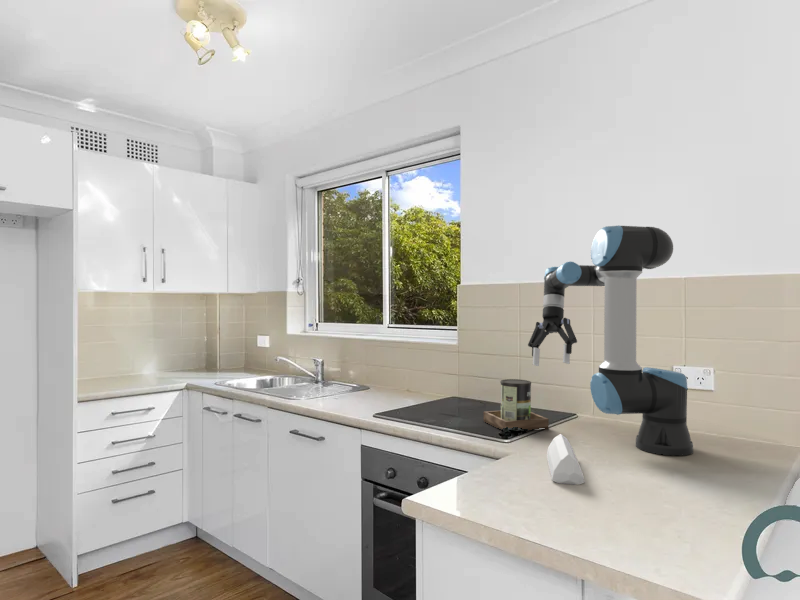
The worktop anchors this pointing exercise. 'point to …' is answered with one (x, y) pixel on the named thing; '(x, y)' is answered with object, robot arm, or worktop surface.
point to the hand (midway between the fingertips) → (550, 364)
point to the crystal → (563, 462)
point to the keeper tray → (533, 423)
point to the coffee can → (515, 399)
